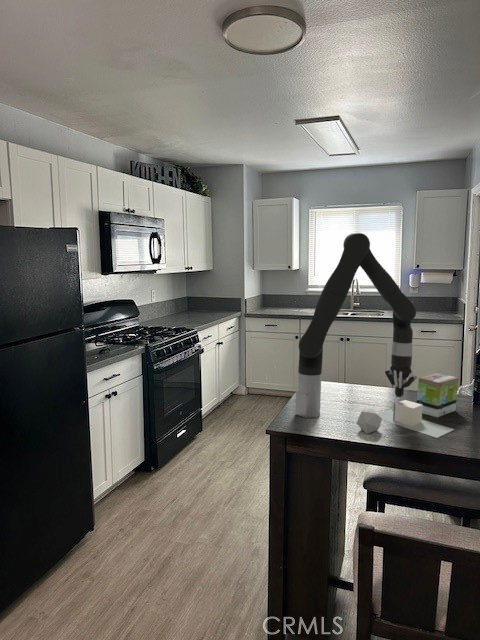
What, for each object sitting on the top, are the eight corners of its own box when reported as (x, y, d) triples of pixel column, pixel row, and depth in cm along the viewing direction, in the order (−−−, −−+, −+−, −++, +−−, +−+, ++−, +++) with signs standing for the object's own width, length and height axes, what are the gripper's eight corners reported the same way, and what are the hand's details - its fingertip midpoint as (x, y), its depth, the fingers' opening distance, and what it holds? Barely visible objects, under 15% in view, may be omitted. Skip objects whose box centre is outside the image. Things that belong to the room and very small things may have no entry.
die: (368, 426, 176) (354, 407, 175) (388, 421, 171) (374, 401, 170) (364, 441, 170) (349, 421, 169) (384, 435, 165) (369, 415, 163)
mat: (436, 438, 164) (436, 437, 164) (369, 416, 186) (369, 415, 186) (454, 430, 172) (454, 429, 172) (388, 410, 194) (388, 409, 194)
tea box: (438, 418, 184) (441, 382, 182) (415, 412, 192) (417, 377, 190) (456, 411, 194) (459, 376, 192) (433, 404, 202) (435, 371, 200)
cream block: (392, 420, 181) (411, 426, 175) (394, 403, 180) (412, 408, 174) (402, 416, 185) (421, 422, 179) (403, 399, 184) (422, 404, 178)
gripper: (381, 351, 182) (378, 394, 185) (412, 357, 172) (409, 402, 175) (392, 349, 187) (389, 391, 190) (422, 355, 177) (419, 399, 179)
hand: (399, 396), depth 182 cm, fingers closed
